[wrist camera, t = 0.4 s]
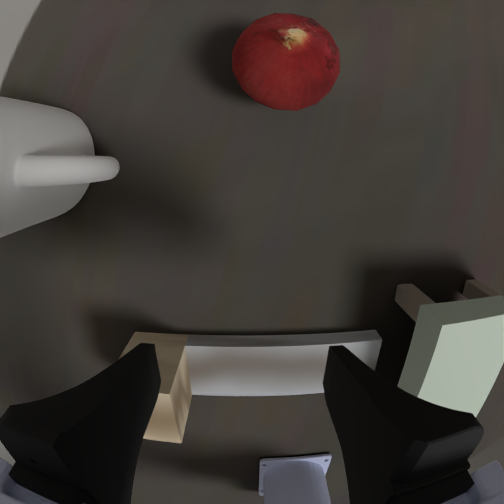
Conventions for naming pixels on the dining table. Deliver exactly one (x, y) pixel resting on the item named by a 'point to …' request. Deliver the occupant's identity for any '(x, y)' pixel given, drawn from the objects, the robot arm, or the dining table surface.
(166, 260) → the dining table surface
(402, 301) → the green top stand
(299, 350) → the beige piece
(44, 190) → the mug
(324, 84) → the pomegranate
